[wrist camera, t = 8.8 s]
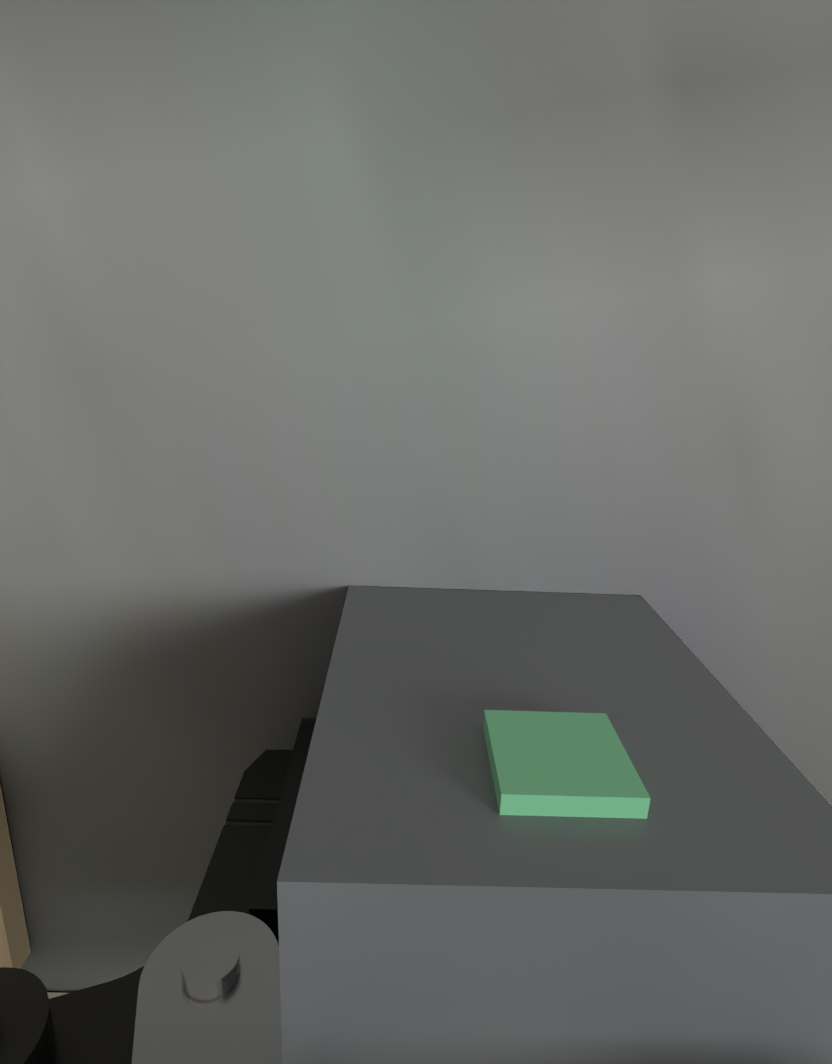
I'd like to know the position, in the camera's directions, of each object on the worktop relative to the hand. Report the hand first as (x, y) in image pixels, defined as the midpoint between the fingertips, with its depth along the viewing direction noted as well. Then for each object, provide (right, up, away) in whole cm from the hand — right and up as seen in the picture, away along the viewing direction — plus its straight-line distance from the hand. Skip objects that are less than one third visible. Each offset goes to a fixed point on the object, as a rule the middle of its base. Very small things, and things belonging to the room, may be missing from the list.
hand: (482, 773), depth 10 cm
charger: (0, 0, 0) cm, 0 cm away
